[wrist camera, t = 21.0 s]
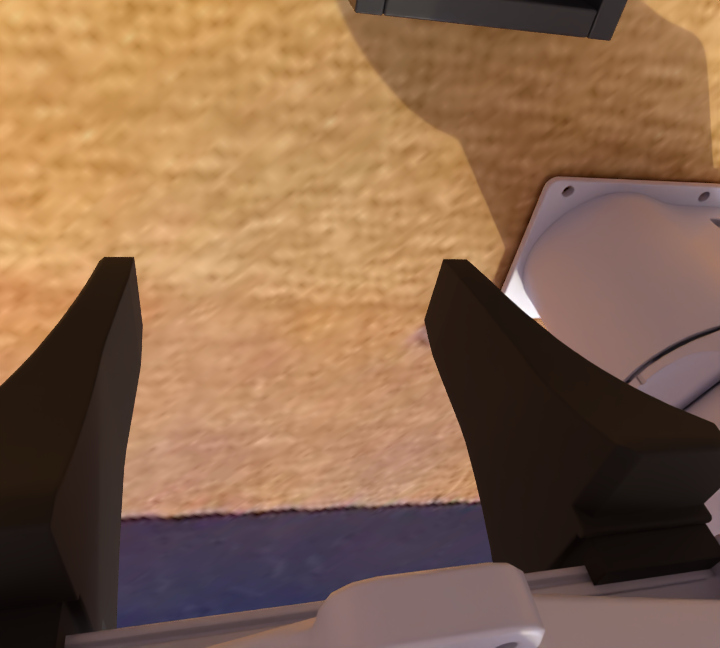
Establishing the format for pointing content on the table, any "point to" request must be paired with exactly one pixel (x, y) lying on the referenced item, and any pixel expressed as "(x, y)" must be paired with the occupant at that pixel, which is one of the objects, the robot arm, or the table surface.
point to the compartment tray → (509, 14)
